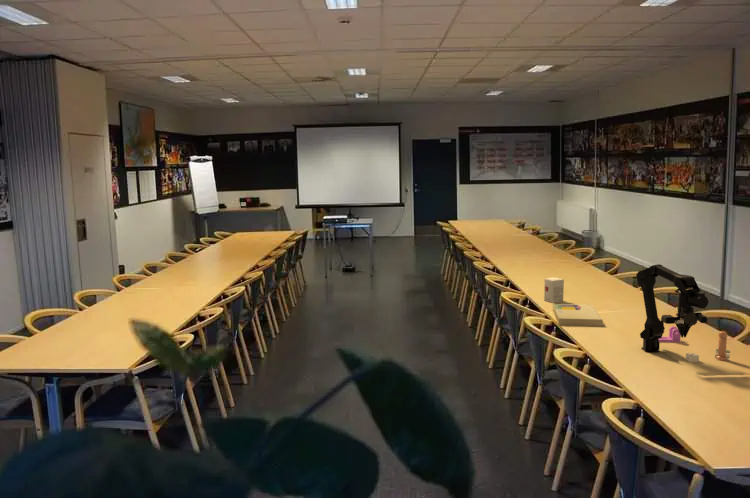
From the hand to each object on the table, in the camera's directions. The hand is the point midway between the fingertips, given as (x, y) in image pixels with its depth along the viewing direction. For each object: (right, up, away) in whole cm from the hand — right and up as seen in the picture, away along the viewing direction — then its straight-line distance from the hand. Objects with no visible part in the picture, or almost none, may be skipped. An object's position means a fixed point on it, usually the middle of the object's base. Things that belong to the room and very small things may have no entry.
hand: (683, 337), depth 292 cm
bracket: (+8, -7, +36) cm, 38 cm away
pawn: (+19, -10, +2) cm, 22 cm away
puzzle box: (-22, -1, +85) cm, 88 cm away
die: (+5, -12, +2) cm, 13 cm away
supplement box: (-24, +6, +128) cm, 130 cm away
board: (+22, -10, +8) cm, 26 cm away
